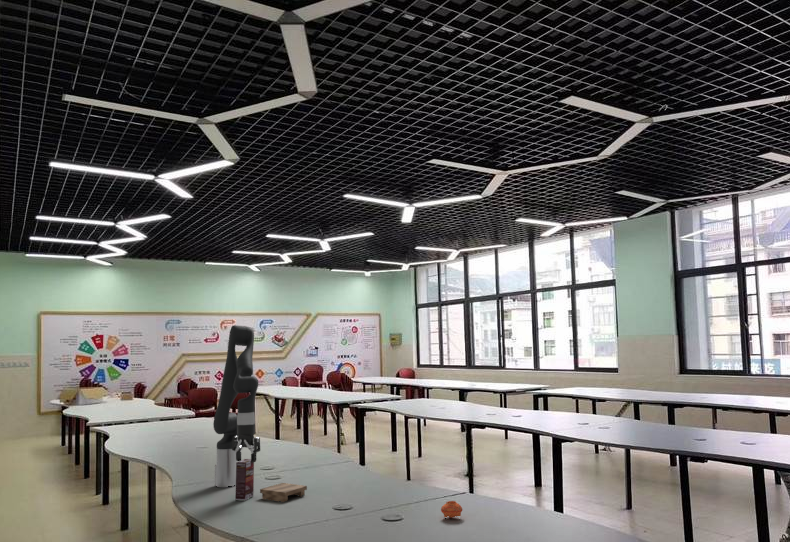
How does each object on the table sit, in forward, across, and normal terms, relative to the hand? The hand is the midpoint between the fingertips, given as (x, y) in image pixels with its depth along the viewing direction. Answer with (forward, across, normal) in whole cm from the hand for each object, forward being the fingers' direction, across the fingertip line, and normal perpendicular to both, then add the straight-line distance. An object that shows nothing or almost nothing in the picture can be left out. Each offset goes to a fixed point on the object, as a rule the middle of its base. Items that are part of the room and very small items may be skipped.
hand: (246, 461), depth 268 cm
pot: (+17, +92, +12) cm, 94 cm away
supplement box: (+16, 0, 0) cm, 16 cm away
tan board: (+16, +13, +10) cm, 22 cm away
